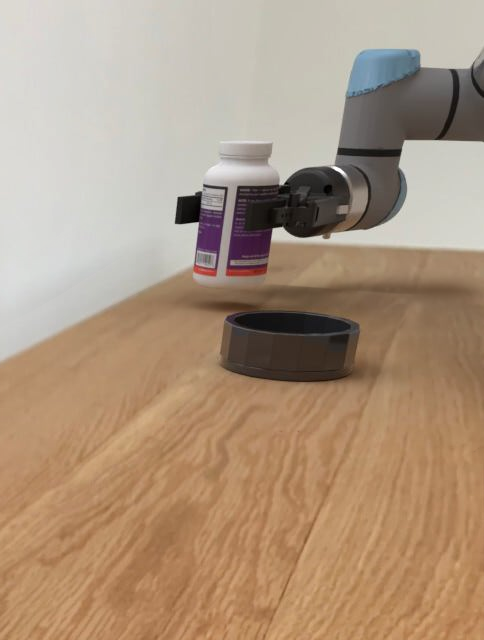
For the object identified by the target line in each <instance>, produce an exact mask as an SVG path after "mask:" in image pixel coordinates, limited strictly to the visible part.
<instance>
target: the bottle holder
mask: <svg viewBox="0 0 484 640" xmlns="http://www.w3.org/2000/svg"><path fill="white" fill-rule="evenodd" d="M222 329H223V330H222V336H221V343H220V352H219V355H220V356H219V364H220V366H222V367H223V368H224V369H226V370H228V371H231V372H234V373H237V374H240V375H244V376H248V377H253V378H254V377H255V378H260V379H266V380H276V381H288V382H319V381H330V380H337V379H341V378H344V377H347V376H349V375H350V374H351V373H352V371H353V367H354V364H355V359H356V353H357V349H358V343H359V338H360V333H361V324H360V323H358V322H356V321H354V320H351V319H349V318H345V317H341V316H337V315H333V314H326V313H318V312H312V311H311V312H310V311H301V310H299V311H298V310H284V309H283V310H281V309H280V310H279V309H278V310H277V309H276V310H273V309H271V310H265V309H264V310H250V311H240V312H235V313H231V314H228V315H226V317H225V319H224V322H223V328H222Z"/></svg>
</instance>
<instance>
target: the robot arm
mask: <svg viewBox="0 0 484 640" xmlns="http://www.w3.org/2000/svg"><path fill="white" fill-rule="evenodd" d="M421 56H422V55H421V52H420V51H419V50H418V49H414V48H408V49H407V48H367V49H364V50H362V51H360V52H358V53H357V55H356V56H355V58H354V60H353V63H352V67H351V70H350V75H349V80H348V84H347V89H346V92H345V95H344V97H345V98H344V99H345V100H344V106H343V113H342V119H341V125H340V133H339V137H338V138H339V139H338V145H337V151H336V154H335V159H334V164H328V165H322V166H308V167H304V168H300V169H298V170H296V171H295V172H293V173H292V174H291V175H290V176H289V177H288V178H287V179H286V180H285V182H284V183H283V184H279V190H278V196H277V200H268V201H258V202H249V203H247V208H246V215H245V222H244V230H243V231H248V232H251V231H258V230H265V229H273V230H274V229H279V228H283V230H284V231H286V232H287V233H288V234H289V235H290V236H292V237H295V238H298V239H307V238H314V237H320V236H321V238H322V239H323V240H329V239H331V235H332V234H338V233H344V232H352V231H360V230H361V231H367V230H370V229H373V228H375V227H376V228H377V227H379V226H382V225H385V224H386V223H388V222H390V221H391V220H393V218H395V217H396V216H397V215H398V213H400V211H401V209H402V208H403V206H404V204H405V202H406V200H407V195H408V183H407V178H406V175H405V173H404V171H403V170H402V168H400V162H401V157H402V154H403V153H402V152H403V148H404V143H405V141H440V142H441V141H444V142H445V141H448V142H480V143H481V142H482V143H484V46H483V47H482V48H481V50H480V52H479V54H478V55H477V57H476V58H475V59H474V61H473V62H472V64H471V65H470V67H469V68H446V67H445V68H444V67H427V66H426V67H423V66H422V65H421ZM202 191H203V190H198V191H196V192H194V194H191V195H183V196H182V195H181V196H177V199H176V207H175V208H176V209H175V215H174V216H175V217H174V225H179V226H180V225H188V224H196V223H199V217H200V209H201V200H202Z"/></svg>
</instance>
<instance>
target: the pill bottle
mask: <svg viewBox="0 0 484 640" xmlns="http://www.w3.org/2000/svg"><path fill="white" fill-rule="evenodd" d="M273 144H274V142H273V141H266V140H221V141H219V144H218V152H217V154H218V158H219V161H218V163H217V164H216V165H215V164H214V165H213V166H212V167H210V168H209V169H208V170H206V173H205V174H204V176H203V183H202V190H201V191H202V200H201V209H200V217H199V222H198V225H197V226H198V227H197V236H196V245H195V251H194V252H195V253H194V260H193V261H194V262H193V269H192V278H193V281H194V282H195V284H197V285H199V286H200V287H203V288H206V289H215V290H232V291H233V290H234V291H235V290H239V291H241V290H242V291H243V290H244V291H245V290H252V289H256V288H258V287H260V286H262V284H264V282H265V281H266V278H267V274H268V273H267V272H268V267H269V258H270V251H271V244H272V237H273V230H274V228H273V229H265V230H258V231H251V232H248V231H243V230H244V222H245V215H246V208H247V203H249V202H258V201H268V200H277V196H278V190H279V185H280V181H281V180H280V179H281V177H280V174H279V171H278V170H277V169H276V168H275V167H274V166H272V165H271V164H270V163H269V159H270V158H271V157H272V156H271V155H272V153H273V147H274V146H273Z"/></svg>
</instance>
